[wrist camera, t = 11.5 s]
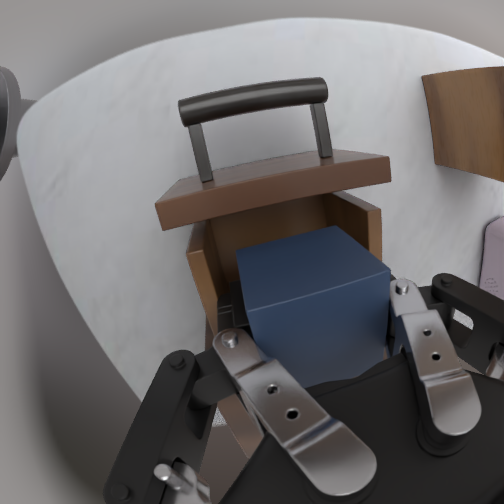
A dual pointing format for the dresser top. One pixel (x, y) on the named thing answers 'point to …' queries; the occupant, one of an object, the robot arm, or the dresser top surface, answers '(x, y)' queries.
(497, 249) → the electronic device
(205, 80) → the dresser top surface
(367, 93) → the dresser top surface
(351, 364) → the block
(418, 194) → the dresser top surface
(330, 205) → the drawer
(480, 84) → the stand
